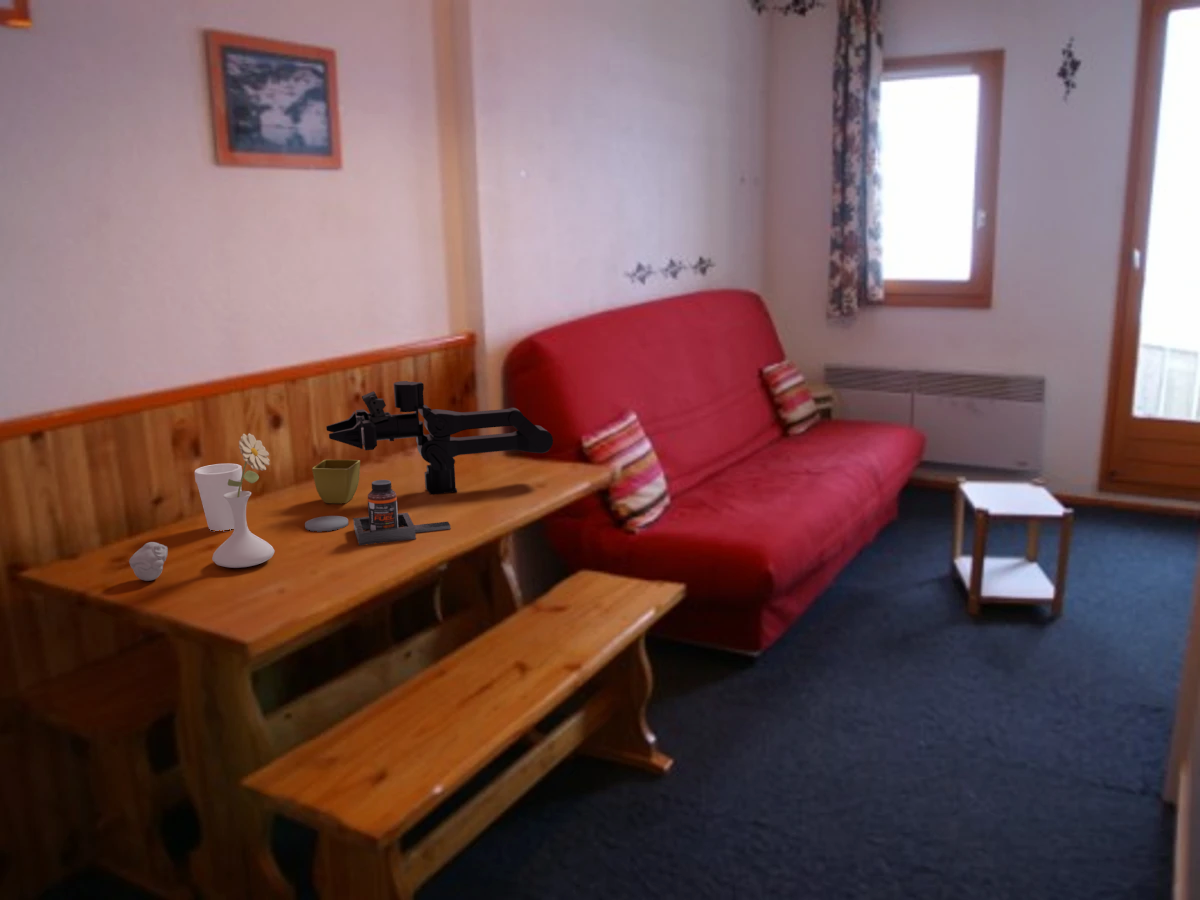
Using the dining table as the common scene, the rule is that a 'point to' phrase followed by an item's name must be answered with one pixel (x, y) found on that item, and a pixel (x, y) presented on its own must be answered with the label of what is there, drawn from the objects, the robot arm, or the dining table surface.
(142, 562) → the lumpy white ball
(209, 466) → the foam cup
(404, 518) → the square pan with handle
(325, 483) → the flower pot
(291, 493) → the dining table surface
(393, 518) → the supplement bottle
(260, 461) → the flower in vase
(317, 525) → the coaster
